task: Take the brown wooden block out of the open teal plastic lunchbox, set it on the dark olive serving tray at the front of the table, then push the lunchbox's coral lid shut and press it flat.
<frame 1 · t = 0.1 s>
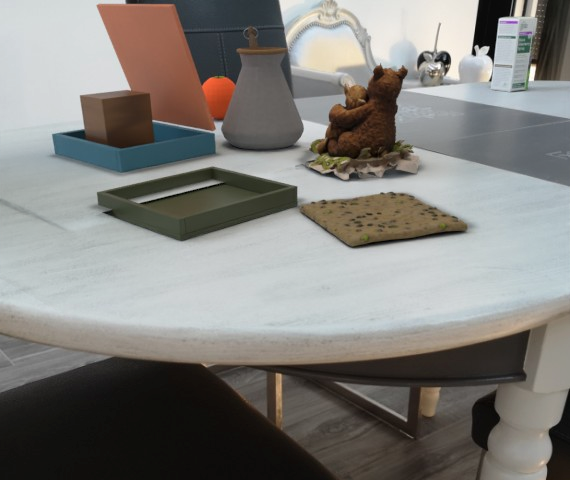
tray: (199, 208, 68), on the table
clementine: (221, 119, 116), on the table
lunchbox: (135, 159, 88), on the table
block: (122, 155, 86), point 1 cm above the table, touching lunchbox
grey lidded jar: (259, 143, 98), on the table
lunchbox lid: (156, 67, 86), point 11 cm above the table, hinge at 70.0°
bear figurine: (358, 167, 84), on the table
cookie: (379, 221, 64), on the table
syrup box: (508, 90, 147), on the table
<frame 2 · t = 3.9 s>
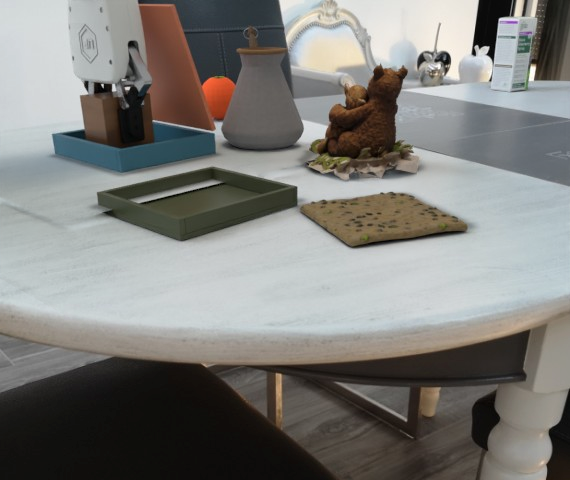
hand: (120, 137, 85), 3 cm above the table, tool pointing down, fingers closed on block, 5 cm apart
block: (122, 155, 86), point 1 cm above the table, touching gripper, lunchbox
everything else where it was.
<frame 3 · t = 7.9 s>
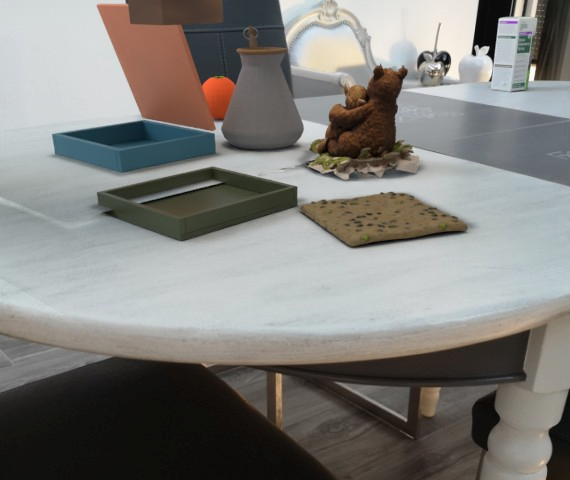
block: (177, 23, 61), point 17 cm above the table, touching gripper
everything else where it was.
when the fingers open (3 cm above the table, at t = 12.0 s): block stays where it is, resting on tray.
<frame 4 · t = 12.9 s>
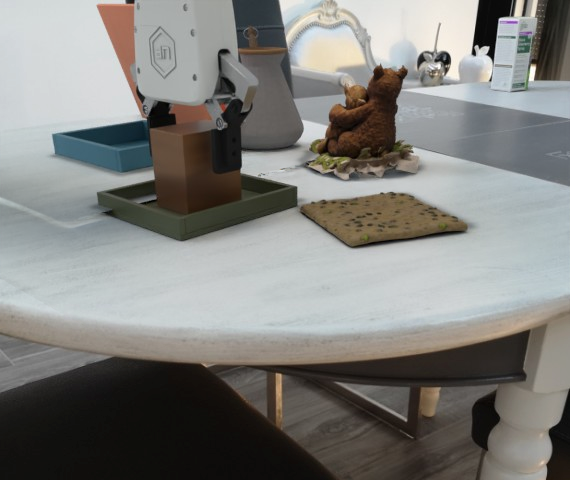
hand: (194, 163, 65), 5 cm above the table, tool pointing down, fingers open, 9 cm apart
block: (200, 203, 67), resting on tray
everything else where it was.
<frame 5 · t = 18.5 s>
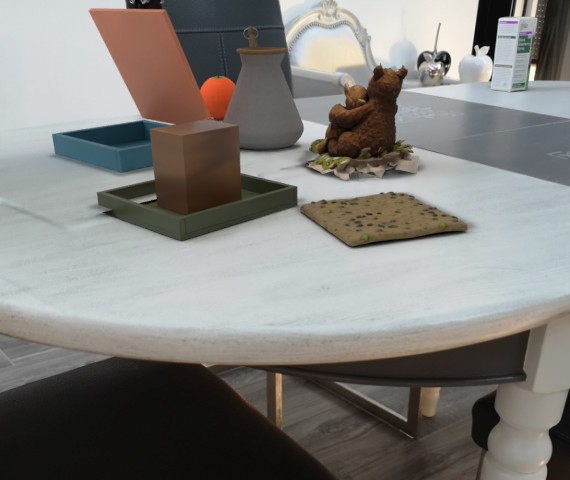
hand: (150, 38, 84), 14 cm above the table, tool pointing down, fingers closed
lunchbox lid: (152, 70, 85), point 11 cm above the table, hinge at 64.8°, touching gripper
everything else where it was.
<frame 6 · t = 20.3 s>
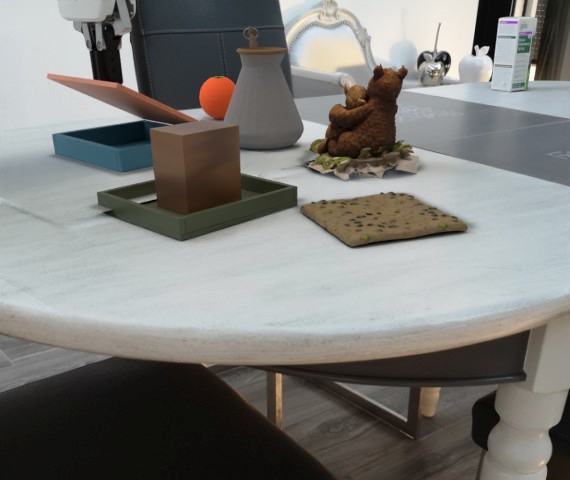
hand: (109, 84, 82), 9 cm above the table, tool pointing down, fingers closed
lunchbox lid: (132, 103, 85), point 7 cm above the table, hinge at 25.5°, touching gripper
everything else where it was.
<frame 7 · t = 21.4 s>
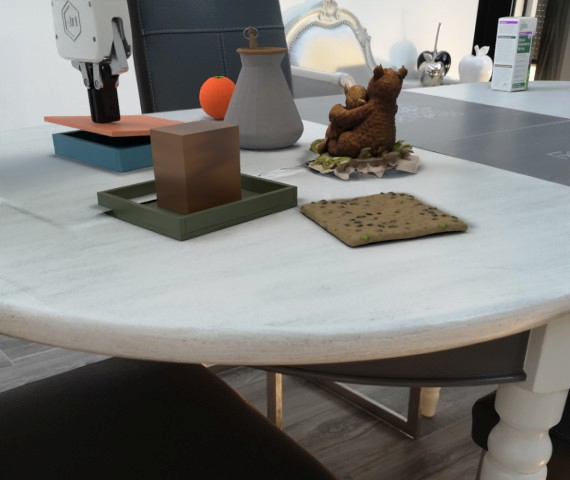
hand: (106, 121, 83), 5 cm above the table, tool pointing down, fingers closed
lunchbox lid: (129, 124, 86), point 4 cm above the table, hinge at 5.9°, touching gripper
everything else where it was.
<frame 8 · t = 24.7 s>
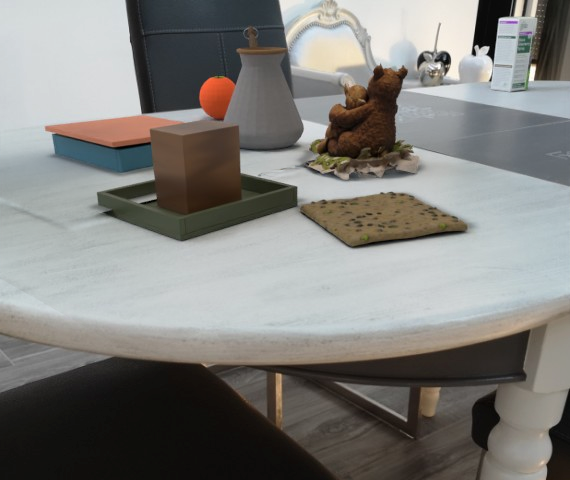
lunchbox lid: (130, 129, 86), point 4 cm above the table, hinge at 1.6°
everything else where it was.
at the end: block inside the target area in the tray (0.1 cm from its centre), point 0.5 cm above the tray's base; lunchbox lid at +2° (first picture: +70°) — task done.
